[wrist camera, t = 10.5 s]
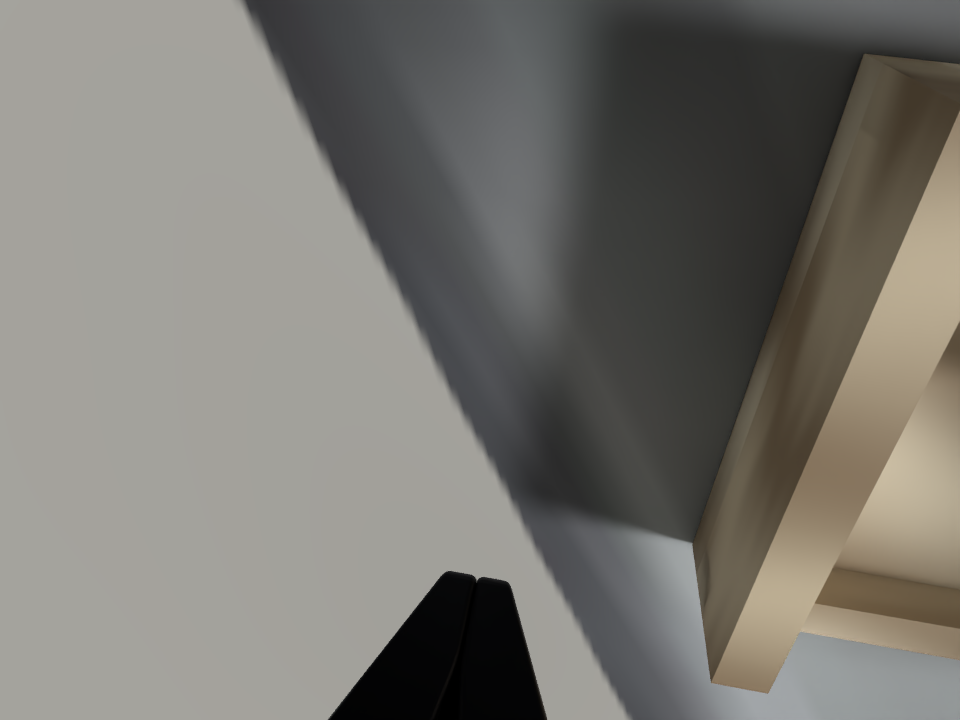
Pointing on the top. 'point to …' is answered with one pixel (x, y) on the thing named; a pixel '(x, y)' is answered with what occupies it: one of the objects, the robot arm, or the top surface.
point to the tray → (852, 404)
